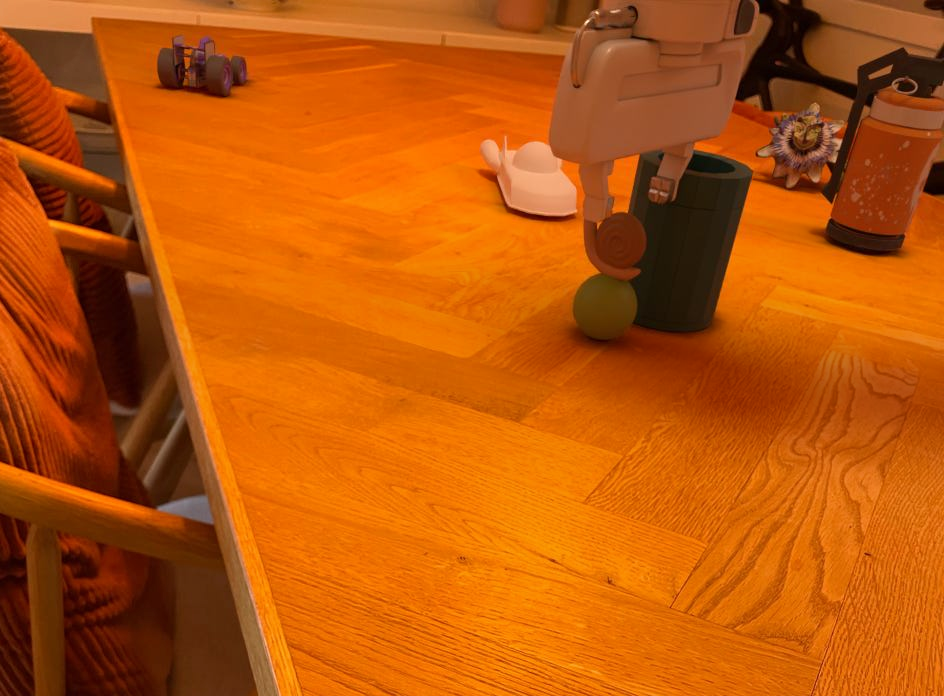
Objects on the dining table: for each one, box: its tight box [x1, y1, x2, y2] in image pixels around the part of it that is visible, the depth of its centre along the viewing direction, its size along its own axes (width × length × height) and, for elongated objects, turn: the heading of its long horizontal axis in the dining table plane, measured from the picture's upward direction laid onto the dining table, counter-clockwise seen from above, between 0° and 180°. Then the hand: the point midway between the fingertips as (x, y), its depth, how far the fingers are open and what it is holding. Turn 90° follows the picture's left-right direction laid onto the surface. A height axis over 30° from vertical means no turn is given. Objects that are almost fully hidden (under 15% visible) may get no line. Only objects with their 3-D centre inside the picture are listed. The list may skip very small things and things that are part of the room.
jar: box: [627, 149, 754, 333], centre depth 88 cm, size 10×10×13 cm
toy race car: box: [156, 34, 249, 97], centre depth 144 cm, size 10×15×6 cm, turn 170°
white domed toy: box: [479, 135, 578, 217], centre depth 117 cm, size 10×20×6 cm, turn 7°
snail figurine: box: [572, 200, 646, 341], centre depth 82 cm, size 5×6×12 cm
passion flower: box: [754, 102, 848, 192], centre depth 137 cm, size 11×11×12 cm
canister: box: [820, 46, 944, 254], centre depth 112 cm, size 9×11×20 cm
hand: (629, 210), depth 79 cm, fingers open, 8 cm apart
